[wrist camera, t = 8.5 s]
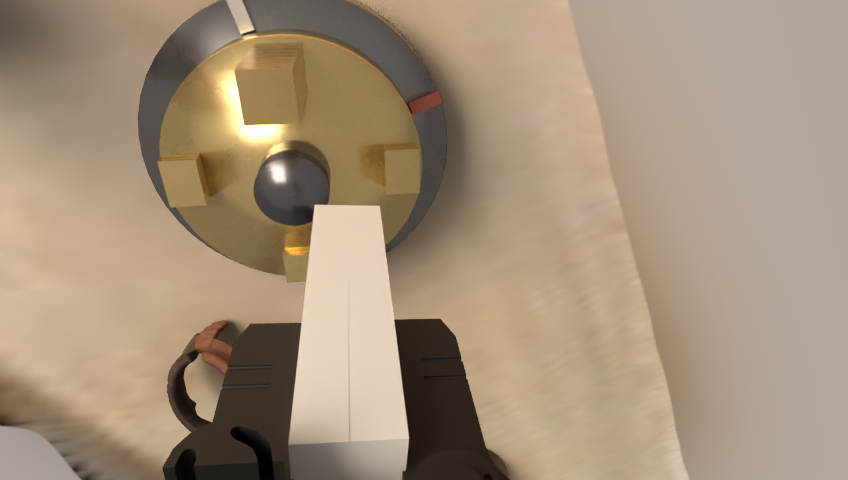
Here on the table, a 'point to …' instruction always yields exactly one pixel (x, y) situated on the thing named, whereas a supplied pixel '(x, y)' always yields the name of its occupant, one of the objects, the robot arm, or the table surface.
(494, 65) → the table surface
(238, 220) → the gold lug disc
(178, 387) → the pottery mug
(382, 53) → the base
